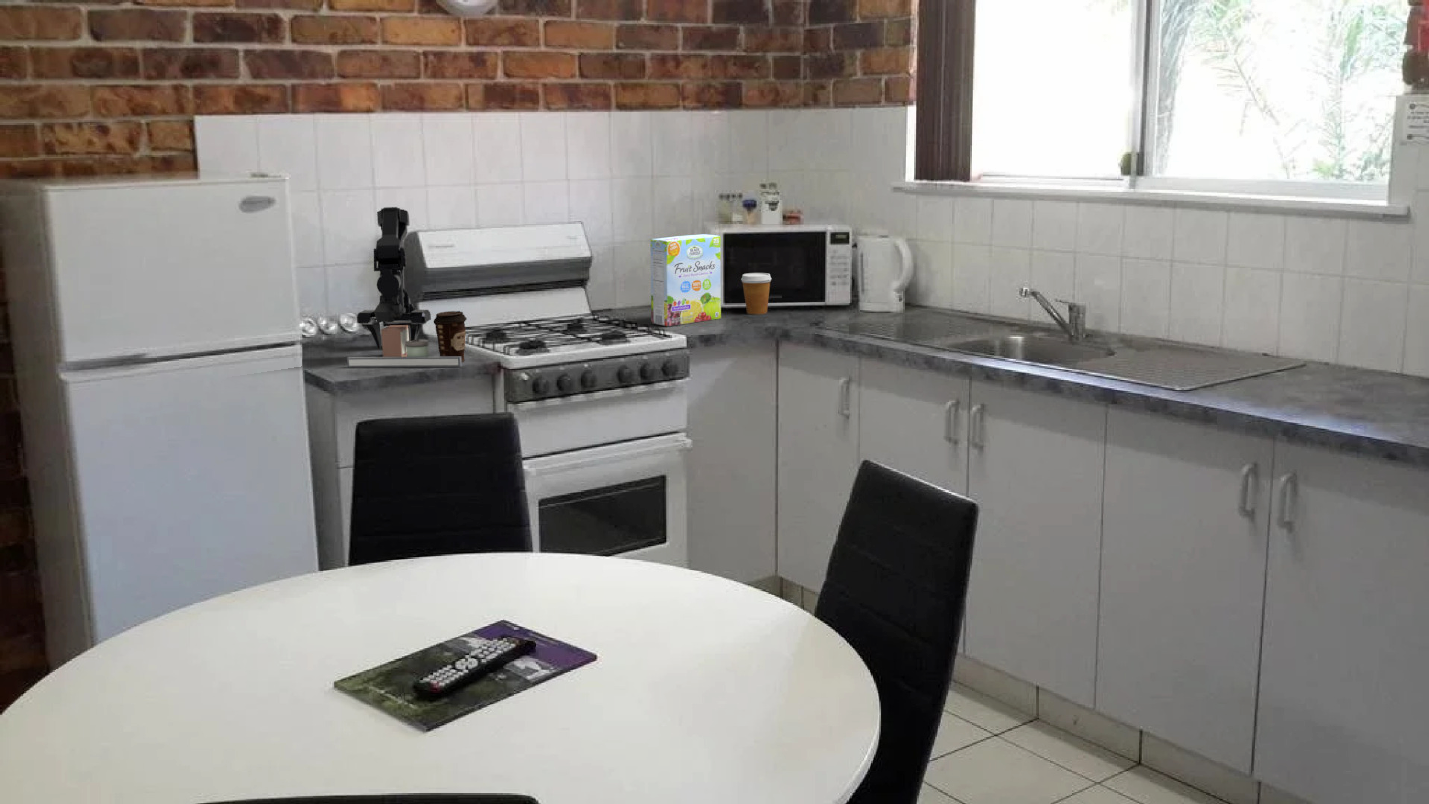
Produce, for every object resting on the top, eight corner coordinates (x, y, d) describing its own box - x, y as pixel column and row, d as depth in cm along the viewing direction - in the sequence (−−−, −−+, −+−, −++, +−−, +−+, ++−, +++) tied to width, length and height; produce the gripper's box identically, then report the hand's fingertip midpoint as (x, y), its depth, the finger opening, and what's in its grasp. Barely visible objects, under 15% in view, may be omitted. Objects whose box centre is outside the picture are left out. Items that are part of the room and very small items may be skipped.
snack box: (668, 327, 400) (665, 240, 394) (650, 324, 406) (647, 238, 401) (723, 318, 414) (721, 234, 408) (704, 315, 420) (702, 232, 414)
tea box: (383, 359, 361) (381, 329, 359) (392, 354, 368) (390, 325, 366) (402, 359, 361) (399, 329, 359) (410, 354, 367) (408, 325, 366)
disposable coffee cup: (735, 313, 423) (734, 275, 420) (754, 309, 430) (754, 272, 427) (759, 316, 417) (758, 277, 414) (778, 312, 424) (777, 273, 421)
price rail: (349, 366, 352) (348, 357, 351) (461, 365, 349) (461, 356, 348) (347, 367, 350) (346, 358, 350) (460, 367, 347) (459, 357, 347)
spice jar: (411, 362, 356) (409, 339, 355) (432, 361, 356) (431, 339, 354) (404, 366, 351) (402, 343, 349) (426, 366, 350) (424, 343, 349)
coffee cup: (473, 358, 358) (470, 310, 355) (465, 364, 350) (461, 315, 347) (441, 359, 359) (438, 310, 356) (432, 365, 351) (428, 315, 348)
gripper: (346, 295, 354) (351, 354, 357) (416, 294, 352) (420, 353, 355) (362, 289, 364) (366, 346, 368) (429, 288, 362) (433, 346, 366)
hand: (396, 348), depth 364 cm, fingers open, 9 cm apart
